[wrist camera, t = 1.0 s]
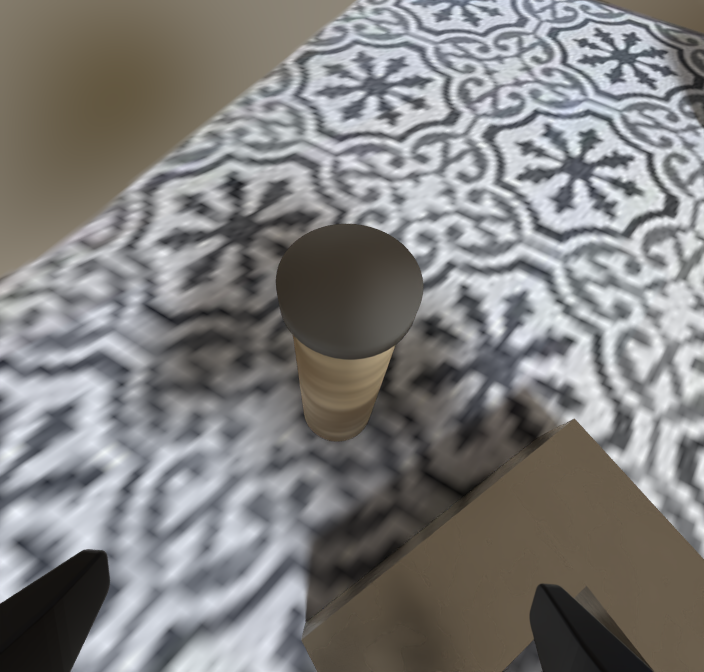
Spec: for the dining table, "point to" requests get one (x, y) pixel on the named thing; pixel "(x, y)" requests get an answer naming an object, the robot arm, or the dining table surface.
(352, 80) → the dining table surface
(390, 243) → the ash pin
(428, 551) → the grey square block
